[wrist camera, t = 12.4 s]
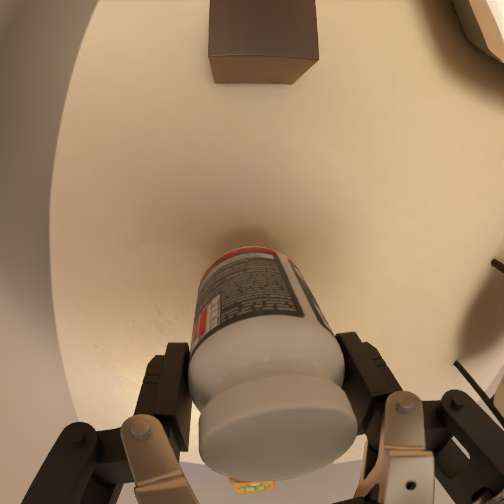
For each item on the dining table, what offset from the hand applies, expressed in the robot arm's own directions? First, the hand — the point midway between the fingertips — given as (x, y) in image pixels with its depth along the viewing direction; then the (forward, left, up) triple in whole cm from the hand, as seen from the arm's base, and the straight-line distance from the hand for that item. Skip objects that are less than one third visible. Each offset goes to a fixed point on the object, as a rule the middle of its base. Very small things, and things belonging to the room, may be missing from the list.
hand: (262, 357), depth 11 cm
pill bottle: (0, 0, -6) cm, 6 cm away
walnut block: (+1, +14, -10) cm, 18 cm away
